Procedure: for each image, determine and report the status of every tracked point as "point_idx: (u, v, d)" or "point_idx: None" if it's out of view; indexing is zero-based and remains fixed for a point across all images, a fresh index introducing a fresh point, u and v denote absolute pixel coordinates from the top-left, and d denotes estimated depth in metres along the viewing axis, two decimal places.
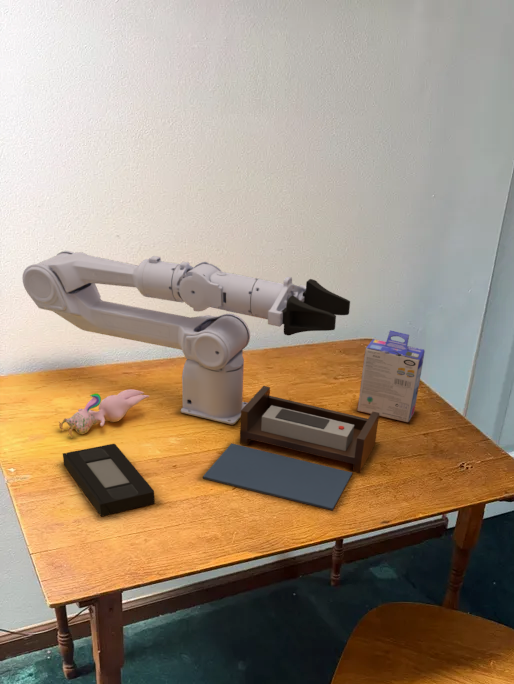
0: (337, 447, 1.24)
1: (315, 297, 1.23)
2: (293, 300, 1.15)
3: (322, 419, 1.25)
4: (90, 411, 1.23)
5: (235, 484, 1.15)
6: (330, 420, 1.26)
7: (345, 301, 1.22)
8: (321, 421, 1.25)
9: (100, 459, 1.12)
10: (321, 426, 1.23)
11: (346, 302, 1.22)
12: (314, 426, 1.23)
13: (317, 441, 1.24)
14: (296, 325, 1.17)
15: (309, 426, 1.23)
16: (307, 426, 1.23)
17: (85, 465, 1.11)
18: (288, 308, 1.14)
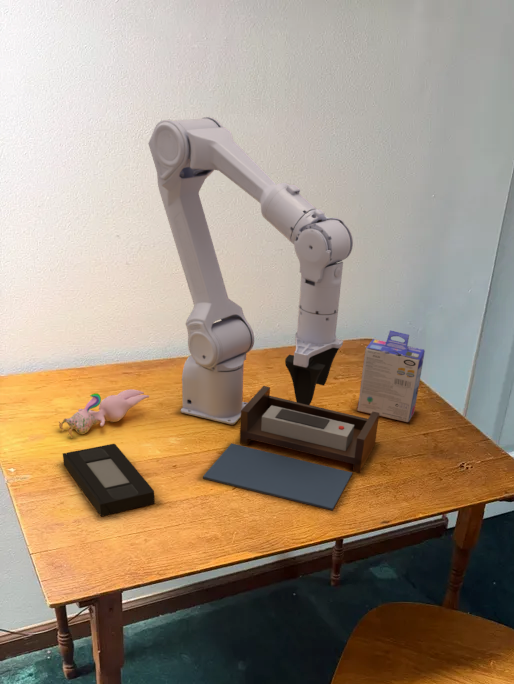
0: (337, 447, 1.24)
1: (324, 352, 1.22)
2: (320, 371, 1.14)
3: (322, 419, 1.25)
4: (90, 411, 1.23)
5: (235, 484, 1.15)
6: (330, 420, 1.26)
7: (324, 382, 1.24)
8: (321, 421, 1.25)
9: (100, 459, 1.12)
10: (321, 426, 1.23)
11: (323, 383, 1.25)
12: (314, 426, 1.23)
13: (317, 441, 1.24)
14: (296, 369, 1.15)
15: (309, 426, 1.23)
16: (307, 426, 1.23)
17: (85, 465, 1.11)
18: (312, 370, 1.13)
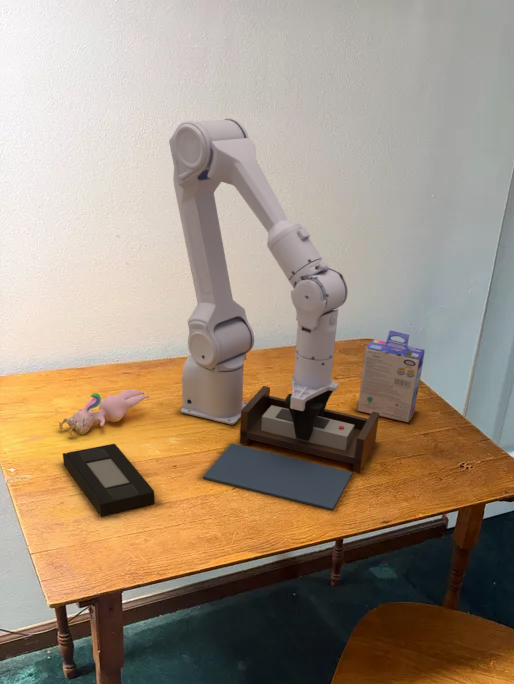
0: (337, 447, 1.24)
1: (318, 396, 1.25)
2: None
3: (322, 419, 1.25)
4: (90, 411, 1.23)
5: (235, 484, 1.15)
6: (330, 420, 1.26)
7: None
8: (321, 421, 1.25)
9: (100, 459, 1.12)
10: (321, 426, 1.24)
11: None
12: (314, 426, 1.23)
13: (317, 441, 1.24)
14: None
15: None
16: None
17: (85, 465, 1.11)
18: (311, 409, 1.18)
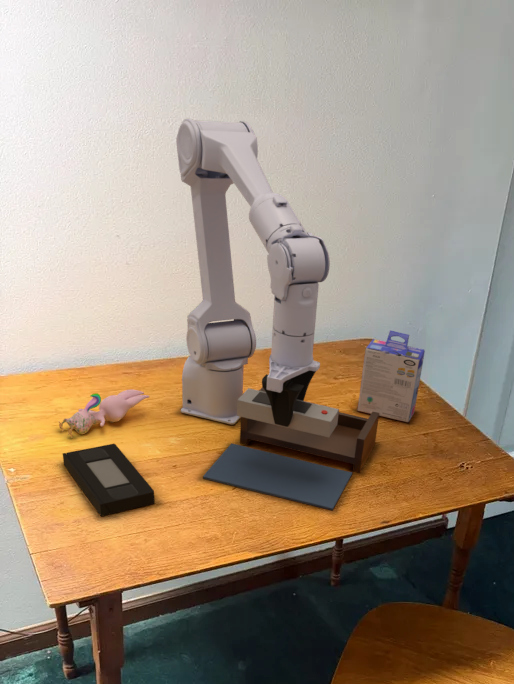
0: (320, 433, 1.13)
1: (299, 377, 1.14)
2: (299, 392, 1.08)
3: (304, 403, 1.15)
4: (90, 411, 1.23)
5: (235, 484, 1.15)
6: (312, 404, 1.15)
7: None
8: (303, 405, 1.14)
9: (100, 459, 1.12)
10: (302, 410, 1.13)
11: None
12: (294, 410, 1.13)
13: (298, 427, 1.13)
14: None
15: None
16: None
17: (85, 465, 1.11)
18: (290, 391, 1.08)
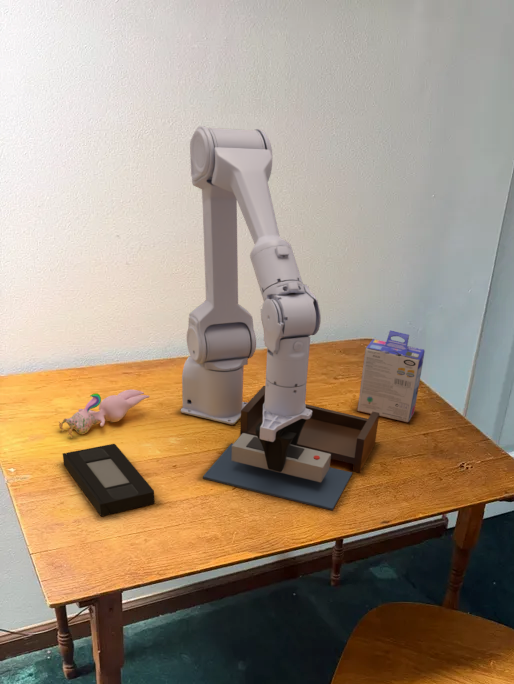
0: (312, 478, 1.16)
1: (292, 423, 1.17)
2: None
3: (296, 448, 1.18)
4: (90, 411, 1.23)
5: (235, 484, 1.15)
6: (305, 449, 1.18)
7: None
8: (296, 450, 1.17)
9: (100, 459, 1.12)
10: (295, 456, 1.16)
11: None
12: (287, 456, 1.16)
13: (291, 472, 1.16)
14: None
15: None
16: None
17: (85, 465, 1.11)
18: (282, 439, 1.10)
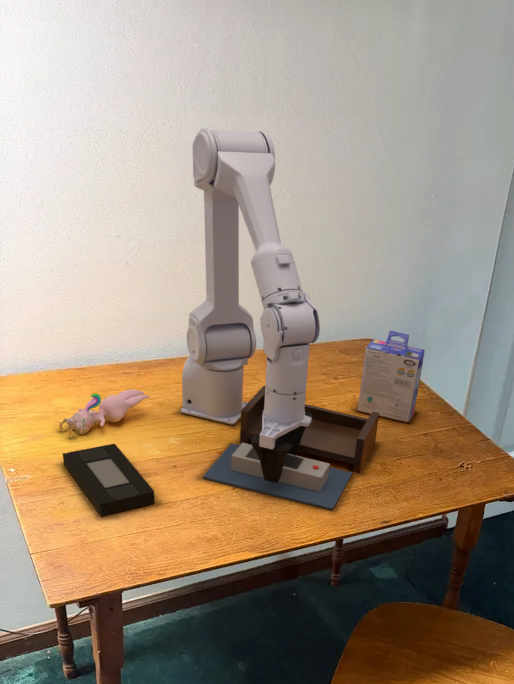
0: (311, 488, 1.17)
1: None
2: None
3: (296, 458, 1.19)
4: (90, 411, 1.23)
5: (235, 484, 1.15)
6: (304, 459, 1.19)
7: None
8: (295, 460, 1.18)
9: (100, 459, 1.12)
10: (294, 466, 1.17)
11: None
12: (287, 466, 1.16)
13: (290, 481, 1.17)
14: (263, 449, 1.12)
15: None
16: None
17: (85, 465, 1.11)
18: (279, 451, 1.10)
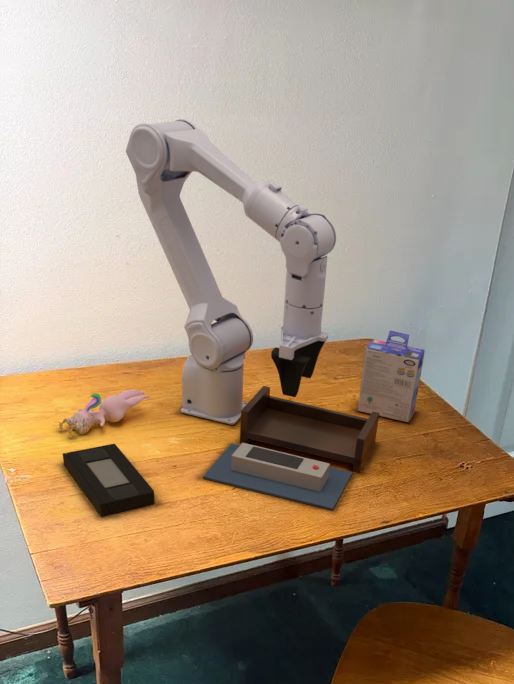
0: (311, 488, 1.17)
1: (311, 345, 1.24)
2: (305, 364, 1.17)
3: (296, 458, 1.19)
4: (90, 411, 1.23)
5: (235, 484, 1.15)
6: (304, 459, 1.19)
7: (310, 375, 1.27)
8: (295, 460, 1.18)
9: (100, 459, 1.12)
10: (294, 466, 1.17)
11: (309, 376, 1.27)
12: (287, 466, 1.16)
13: (290, 481, 1.17)
14: (282, 362, 1.17)
15: (281, 466, 1.16)
16: (279, 466, 1.16)
17: (85, 465, 1.11)
18: (297, 363, 1.16)
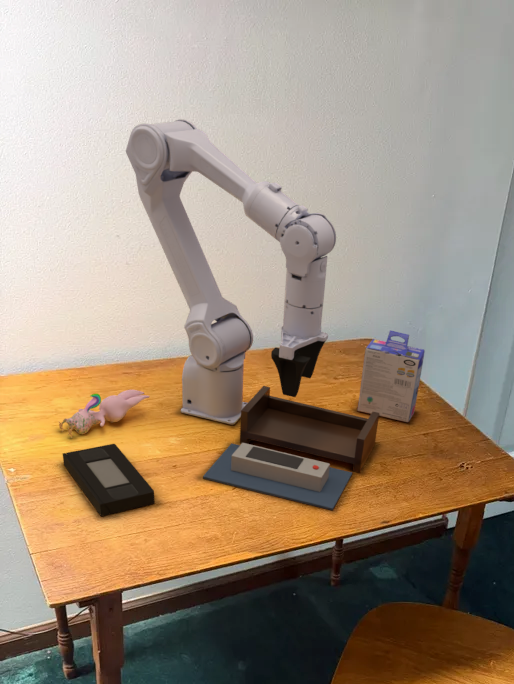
0: (311, 488, 1.17)
1: (311, 345, 1.24)
2: (305, 364, 1.17)
3: (296, 458, 1.19)
4: (90, 411, 1.23)
5: (235, 484, 1.15)
6: (304, 459, 1.19)
7: (310, 375, 1.27)
8: (295, 460, 1.18)
9: (100, 459, 1.12)
10: (294, 466, 1.17)
11: (309, 376, 1.27)
12: (287, 466, 1.16)
13: (290, 481, 1.17)
14: (282, 362, 1.17)
15: (281, 466, 1.16)
16: (279, 466, 1.16)
17: (85, 465, 1.11)
18: (297, 363, 1.16)
